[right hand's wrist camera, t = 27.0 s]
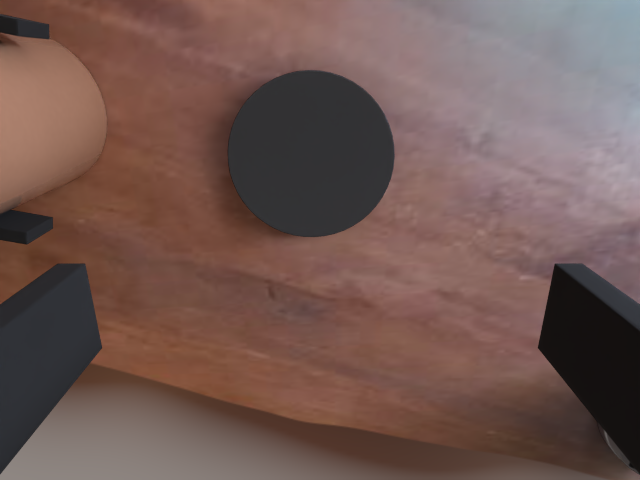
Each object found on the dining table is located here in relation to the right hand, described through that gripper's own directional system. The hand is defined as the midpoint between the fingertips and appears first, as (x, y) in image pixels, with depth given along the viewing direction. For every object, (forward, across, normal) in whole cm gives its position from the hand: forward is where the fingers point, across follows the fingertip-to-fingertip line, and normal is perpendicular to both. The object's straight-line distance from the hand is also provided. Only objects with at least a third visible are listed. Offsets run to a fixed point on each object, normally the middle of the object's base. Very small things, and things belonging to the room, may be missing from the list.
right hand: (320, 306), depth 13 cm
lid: (+19, +1, -1) cm, 19 cm away
